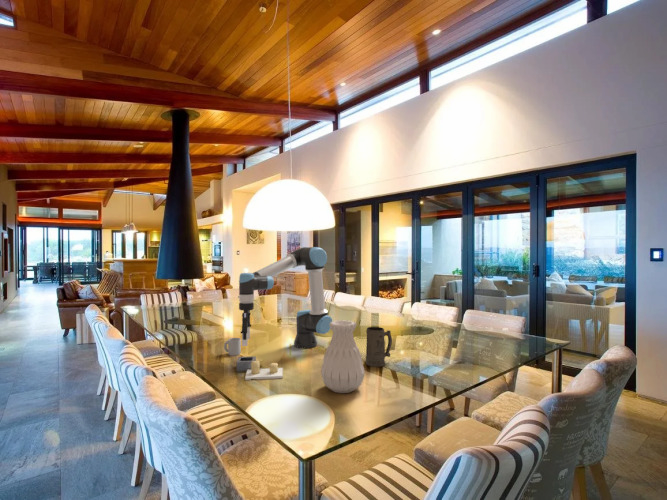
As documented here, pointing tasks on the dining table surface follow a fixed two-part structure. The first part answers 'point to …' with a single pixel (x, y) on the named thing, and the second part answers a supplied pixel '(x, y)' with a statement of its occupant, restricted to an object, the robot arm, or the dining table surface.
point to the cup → (233, 346)
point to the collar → (245, 363)
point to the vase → (342, 359)
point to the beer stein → (377, 346)
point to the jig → (263, 371)
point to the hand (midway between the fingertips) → (246, 342)
